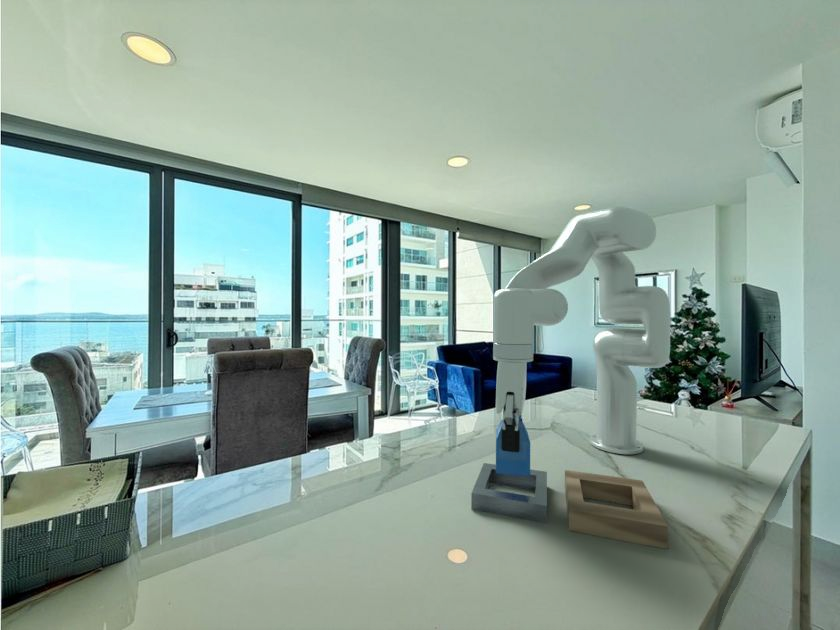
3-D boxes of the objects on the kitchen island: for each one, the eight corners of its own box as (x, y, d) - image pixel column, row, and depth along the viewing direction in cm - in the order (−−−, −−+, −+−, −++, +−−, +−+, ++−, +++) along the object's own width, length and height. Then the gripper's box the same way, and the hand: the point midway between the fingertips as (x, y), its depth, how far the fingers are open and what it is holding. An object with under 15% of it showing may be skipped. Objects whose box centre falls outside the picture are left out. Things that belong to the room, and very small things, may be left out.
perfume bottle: (530, 476, 68) (530, 411, 68) (495, 473, 69) (496, 409, 69) (527, 462, 74) (527, 403, 74) (495, 460, 75) (496, 401, 75)
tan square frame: (564, 486, 76) (564, 469, 76) (642, 498, 71) (642, 480, 71) (569, 530, 61) (569, 509, 61) (667, 548, 56) (668, 526, 56)
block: (483, 476, 80) (483, 462, 80) (546, 486, 76) (546, 471, 76) (471, 509, 67) (471, 493, 67) (546, 523, 63) (546, 505, 63)
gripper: (498, 347, 81) (498, 428, 81) (486, 357, 64) (485, 458, 65) (534, 348, 78) (533, 432, 79) (531, 359, 62) (530, 464, 62)
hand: (512, 443), depth 72 cm, fingers closed on perfume bottle, 6 cm apart
